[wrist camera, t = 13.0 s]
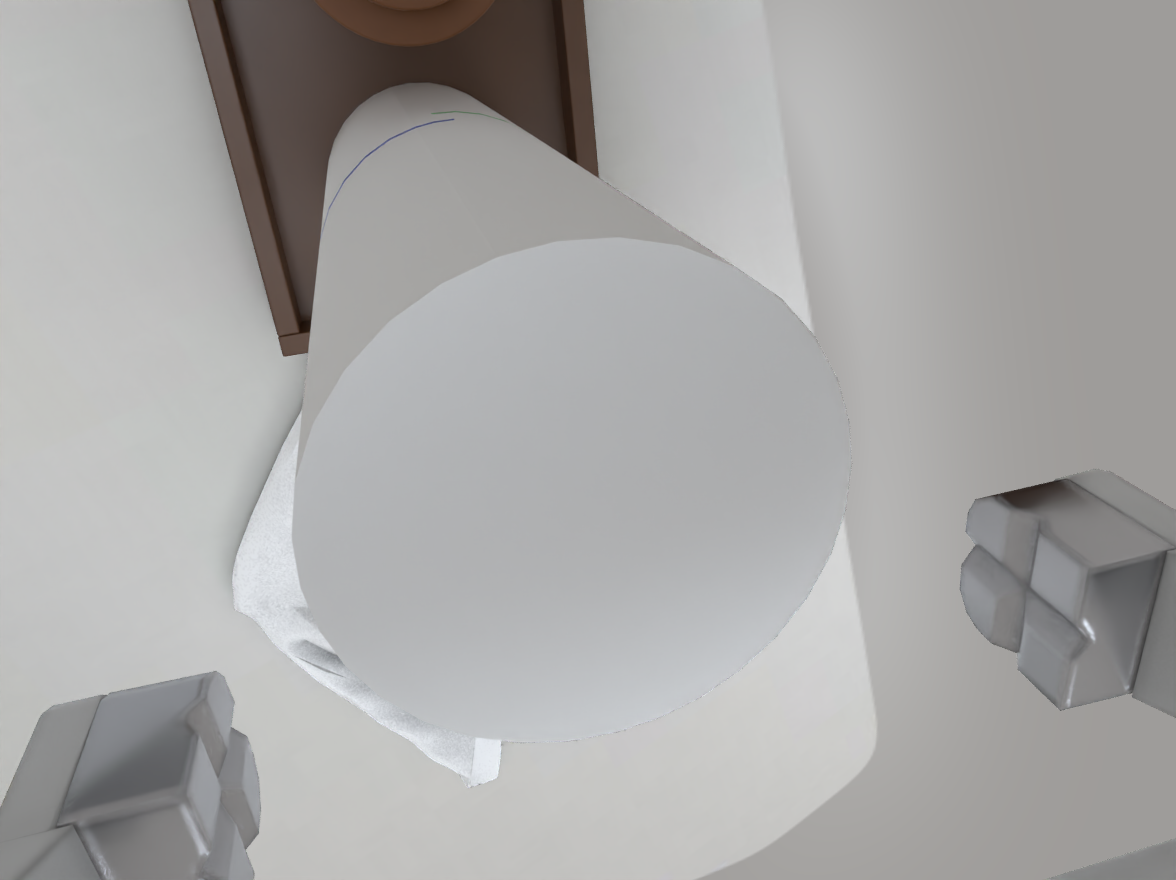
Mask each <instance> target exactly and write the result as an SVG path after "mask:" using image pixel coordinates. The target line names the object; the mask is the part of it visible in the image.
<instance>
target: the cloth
mask: <svg viewBox="0 0 1176 880" xmlns="http://www.w3.org/2000/svg"><path fill="white" fill-rule="evenodd" d="M301 416H302V410H301V412H300V414H299V416H298V417H297V419H296V421H295V423H294V425H293V427H292V429H291V431H290V433H289V434H288V436H287V438H286V440H285V442H284V444H283V446H282V448H281V450H280V452H279V455H278V457H277V459H276V461H275V464H274V466H273V468H272V470H271V473H270V475H269V477H268V479H267V482H266V484H265V486H264V488H263V491H262V493H261V495H260V497H259V500H258V502H257V504H256V506H255V509H254V511H253V513H252V516H251V518H250V521H249V523H248V526H247V529H246V531H245V534H244V537H243V539H242V542H241V544H240V547H239V550H238V552H237V556H236V560H235V565H234V570H233V574H232V583H233V596H234V610H236V611H238V612H240V613H242V614H244V615H246V616H249V617H251V618H253V619H254V620H255V621H256V622H257V624H258V625H259V626H260V627H261V629H262V630H263V631H264V632H265V633H266V635H267V636H268V637H269V638H270V640H271V641H272V642H273V643H274V645H275V646H276V647H277V648H278V649H280V650H281V651H282V652H283V653H284V654H286V655H287V656H288V657H289V658H290V659H292V660H293V661H294V662H295V663H296V664H298V665H299V666H300V667H301V668H302V669H303V670H305V671H306V672H307V673H308V674H309V675H311V676H312V677H313V678H314V679H315V680H317V681H318V682H319V683H321V684H322V685H324V686H325V687H327V688H328V689H330V690H332V691H333V692H335V693H336V694H338V695H339V696H341V697H342V698H344V699H345V700H347V701H348V702H350V703H352V704H353V705H355V706H356V707H358V708H359V709H361V710H362V711H364V712H365V713H366V714H368V715H369V716H370V717H371V718H373V719H374V720H375V721H376V722H378V723H379V724H381V725H383V726H385V727H387V728H388V729H390V730H392V731H394V732H395V733H397V734H399V735H401V736H402V737H404V738H406V739H408V740H410V741H411V742H412V743H414V744H415V745H416V746H417V747H418V748H419V749H420V750H421V751H422V752H424V753H425V754H426V755H427V756H428V757H429V758H430V759H431V760H433V761H435V762H437V763H439V764H441V765H443V766H445V767H447V768H449V769H451V770H453V771H455V772H457V773H458V774H459V776H460V777H461V779H462V780H463V782H464V783H465V785H466V786H467V788H471V787H474V786H477V785H480V784H483V783H486V782H490V781H492V780H494V779H496V778H498V772H499V765H500V758H501V741H500V740H492V739H485V738H477V737H470V736H467V735H464V734H461V733H458V732H455V731H452V730H449V729H446V728H442V727H439V726H436V725H433V724H430V723H427V722H424V721H422V720H420V719H418V718H417V717H415V716H413V715H411V714H409V713H408V712H406V711H404V710H402V709H401V708H399V707H397V706H395V705H393V704H392V703H390V702H388V701H386V700H385V699H383V698H381V697H380V696H379V695H377V694H376V693H375V692H374V691H373V690H372V689H371V688H370V687H368V686H367V685H366V684H365V683H364V682H363V681H362V680H360V679H359V678H358V677H357V676H356V675H355V674H354V673H353V672H351V671H350V670H349V669H348V668H347V667H346V666H345V665H344V664H343V662H342V661H341V660H340V658H339V657H338V655H337V654H336V653H335V651H334V650H333V649H332V647H331V646H330V645H329V643H328V642H327V640H326V639H325V638H324V636H323V635H322V634H321V632H320V631H319V629H318V627H317V625H316V622H315V620H314V618H313V615H312V613H311V611H310V609H309V606H308V604H307V602H306V600H305V597H304V595H303V593H302V590H301V588H300V583H299V577H298V572H297V566H296V561H295V556H294V550H293V545H292V539H291V536H292V519H293V502H294V485H295V474H296V465H297V455H298V445H299V436H300V426H301Z"/></svg>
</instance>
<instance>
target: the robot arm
mask: <svg viewBox="0 0 1176 880" xmlns="http://www.w3.org/2000/svg"><path fill="white" fill-rule="evenodd" d="M966 533H967V534H968V535H969V537H970V538H971V539H972V541H973V542H974V543H975V547H974V548H973V549H972V551H971V552H970V553H969V555H968V556H967V558H966V559H965V560H964V562H963V563H962V566H961V567H962V568H961V580H960V591H961V595H962V598H963V602H964V605H965V608H966V612H967V614H968V615H969V617H970V619H971V620H972V622H973V624H974V625H975V626H976V628H977V629H978V630H979V631H980V632H981V634H982V635H984V637H985V638H986V639H987V640H988V641H989V642H990V643H992V644H994V645H997V646H1000V647H1002V648H1005V649H1008V650H1010V651H1013V652H1015V653H1017V665H1018V670H1019V671H1020V672H1021V673H1022V674H1023V675H1024V676H1025V677H1026V678H1027V679H1028V680H1029V681H1030V682H1031V683H1032V684H1033V685H1034V686H1035V687H1036V688H1038V690H1040V692H1042V693H1043V694H1044V695H1045V696H1046V697H1047V698H1048V699H1049V700H1050V701H1051V702H1052V703H1053V704H1054V705H1055V706H1056V707H1057V708H1058V709H1059V710H1060V711H1061V710H1065V709H1069V708H1073V707H1077V706H1082V705H1086V704H1090V703H1093V702H1098V701H1102V700H1106V699H1110V698H1114V697H1118V696H1122V695H1126V694H1130V693H1133V694H1132V697H1133V698H1135V699H1137V700H1139V701H1141V702H1144V703H1145V704H1147V705H1150V706H1152V707H1154V708H1156V709H1158V710H1160V711H1162V712H1164V713H1167V714H1168V715H1170V716H1173V717H1175V718H1176V510H1175V509H1173V508H1171V507H1169V506H1168V505H1166V504H1164V503H1163V502H1161V501H1159V500H1158V499H1156V498H1154V497H1153V496H1151V495H1149V494H1148V493H1146V492H1144V491H1143V490H1141V489H1139V488H1138V487H1136V486H1134V485H1132V484H1131V483H1129V482H1127V481H1125V480H1124V479H1122V478H1121V477H1119V476H1117V475H1116V474H1114V473H1112V472H1110V471H1104V470H1099V469H1093V470H1089V471H1085V472H1081V473H1077V474H1073V475H1069V476H1066V477H1062V478H1058V479H1055V480H1054V481H1052V482H1048V483H1043V484H1039V485H1035V486H1031V487H1026V488H1022V489H1018V490H1014V491H1009V492H1005V493H1001V494H996V495H992V496H988V497H983V498H979V499H975V501H974V503H973V505H972V507H971V508H970V510H969V512H968V517H967V525H966ZM234 704H235V702H234V699H233V697H232V694H231V692H230V690H229V687H228V685H227V682H226V680H225V677H224V676H223V675H221V674H220V673H218V672H217V671H214V672H209V673H204V674H199V675H194V676H189V677H184V678H180V679H175V680H170V681H165V682H160V683H155V684H151V685H146V686H141V687H136V688H131V689H126V690H121V691H117V692H112V693H109V694H108V695H99V696H94V697H90V698H85V699H81V700H76V701H72V702H67V703H63V704H58V705H54V706H52V707H51V708H49V709H48V710H47V711H45V712H44V713H43V714H42V715H41V716H40V718H39V720H38V722H37V725H36V727H35V729H34V732H33V734H32V736H31V738H30V741H29V743H28V745H27V748H26V750H25V752H24V754H23V757H22V759H21V761H20V764H19V766H18V768H17V770H16V773H15V775H14V777H13V780H12V782H11V784H10V787H9V789H8V791H7V793H6V796H5V798H4V800H3V803H2V805H1V807H0V880H254V874H255V873H254V870H253V868H252V865H251V863H250V860H249V857H248V855H247V852H246V849H247V848H248V846H249V845H250V844H251V842H252V841H253V840H254V839H255V837H256V836H257V835H258V834H259V824H260V812H261V803H260V788H259V777H258V772H257V768H256V763H255V758H254V754H253V752H252V749H251V746H250V743H249V740H248V737H247V736H246V735H244V734H242V733H240V732H239V731H237V730H235V729H234V728H232V727H231V724H232V718H233V711H234ZM1045 880H1176V838H1175V839H1172V840H1169V841H1165V842H1162V843H1159V844H1156V845H1153V846H1150V847H1147V848H1143V849H1140V850H1137V851H1134V852H1131V853H1127V854H1124V855H1121V856H1118V857H1115V858H1112V859H1109V860H1105V861H1102V862H1099V863H1096V864H1093V865H1089V866H1087V867H1083V868H1080V869H1077V870H1074V871H1071V872H1068V873H1064V874H1061V875H1058V876H1055V877H1052V878H1049V879H1045Z"/></svg>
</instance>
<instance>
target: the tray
mask: <svg viewBox="0 0 1176 880" xmlns="http://www.w3.org/2000/svg"><path fill="white" fill-rule="evenodd" d="M188 4H189V7H190V11H191V15H192V18H193V22H194V26H195V30H196V33H197V37H198V41H199V44H200V48H201V52H202V56H203V59H204V63H205V67H206V71H207V74H208V78H209V82H210V85H211V89H212V93H213V97H214V100H215V104H216V108H217V111H218V115H219V119H220V123H221V126H222V130H223V134H224V138H225V141H226V145H227V149H228V152H229V156H230V160H231V164H232V167H233V171H234V175H235V178H236V182H237V186H238V190H239V193H240V197H241V201H242V205H243V208H244V212H245V216H246V219H247V223H248V227H249V231H250V234H251V238H252V242H253V245H254V249H255V253H256V257H257V260H258V264H259V268H260V271H261V275H262V279H263V283H264V286H265V290H266V294H267V298H268V301H269V305H270V309H271V312H272V316H273V320H274V324H275V327H276V331H277V335H278V336H279V337H278V339H279V342H280V346H281V350H282V354H283V356H291V355H297V354H303V353H308V348H309V339H310V329H311V320H312V310H313V301H314V292H315V283H316V274H317V265H318V255H319V246H320V237H321V227H322V217H323V207H324V197H325V188H326V179H327V170H328V161H329V157H330V154H331V150H332V147H333V143H334V140H335V138H336V136H337V135H338V133H339V131H340V129H341V127H342V125H343V123H344V122H345V121H346V120H347V118H348V117H349V116H350V115H351V114H352V113H353V111H354V110H355V109H356V108H357V107H358V106H359V105H361V104H362V103H363V102H365V101H366V100H367V99H369V98H370V97H371V96H373V95H375V94H377V93H379V92H381V91H383V90H385V89H388V88H390V87H394V86H398V85H402V84H406V83H427V82H428V83H434V84H439V85H445V86H449V87H452V88H454V89H456V90H459V91H461V92H464V93H466V94H468V95H470V96H471V97H473V98H475V99H476V100H478V101H479V102H481V103H482V104H484V105H486V106H487V107H489V108H490V109H492V110H493V111H495V112H497V113H498V114H500V115H501V116H503V117H504V118H506V119H508V120H509V121H511V122H512V123H514V124H515V125H517V126H519V127H520V128H522V129H523V130H525V131H526V132H528V133H529V134H531V135H533V136H534V137H536V138H537V139H539V140H540V141H542V142H544V143H545V144H547V145H548V146H550V147H551V148H553V149H554V150H556V151H557V152H559V153H561V154H562V155H564V156H565V157H567V158H568V159H570V160H571V161H573V162H574V163H576V164H577V165H579V166H581V167H582V168H584V169H585V170H587V171H588V172H590V173H591V174H593V175H594V176H596V177H598V178H599V173H598V162H597V151H596V139H595V128H594V116H593V105H592V93H591V82H590V70H589V59H588V48H587V36H586V25H585V13H584V2H583V0H495V1H494V2H493V3H492V5H491V6H490V7H489V9H488V10H487V11H486V12H485V13H484V14H483V15H482V16H481V17H480V18H479V19H478V20H477V21H476V22H475V23H474V24H472V25H471V26H470V27H468V28H467V29H465V30H464V31H463V32H461V33H459V34H457V35H455V36H453V37H451V38H449V39H446V40H443V41H440V42H437V43H434V44H429V45H423V46H409V47H404V46H394V45H388V44H384V43H379V42H375V41H373V40H370V39H368V38H365V37H362V36H360V35H358V34H356V33H354V32H352V31H351V30H349V29H347V28H345V27H344V26H342V25H341V24H340V23H338V22H337V21H335V20H334V19H333V18H331V17H330V16H329V15H328V14H327V13H326V12H325V11H324V10H322V9H321V8H320V7H319V6H318V5H317V3H316V2H315V1H314V0H188Z"/></svg>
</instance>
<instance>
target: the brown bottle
mask: <svg viewBox="0 0 1176 880" xmlns="http://www.w3.org/2000/svg"><path fill="white" fill-rule="evenodd" d="M314 1H315V2H316V3H317V5H318V6H319V7H320V8H321V9H322V10H324V11H325V12H326V13H327V14H328V15H329V16H330V17H331V18H333V19H334V20H335V21H337V22H338V23H340V24H341V25H342V26H344V27H345V28H347V29H349V30H351V31H352V32H354V33H356V34H358V35H360V36H362V37H365V38H368V39H370V40H373V41H375V42H379V43H384V44H388V45H394V46H404V47H409V46H423V45H429V44H434V43H437V42H440V41H443V40H446V39H449V38H451V37H453V36H455V35H457V34H459V33H461V32H463V31H464V30H465V29H467V28H468V27H470V26H471V25H472V24H474V23H475V22H476V21H477V20H478V19H479V18H480V17H481V16H482V15H483V14H484V13H485V12H486V11H487V10H488V9H489V7H490V6H491V5H492V3H493V2H494V1H495V0H314Z"/></svg>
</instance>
